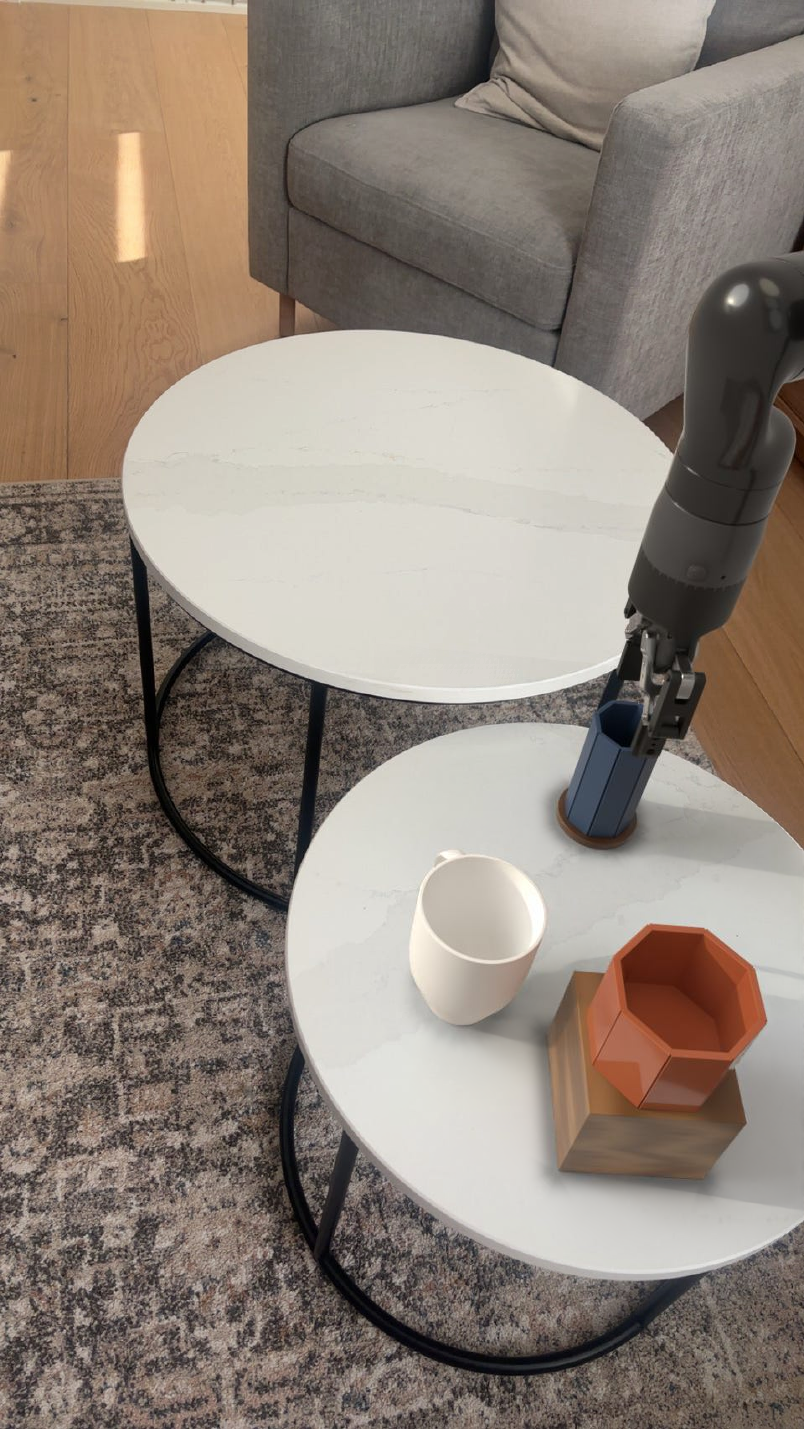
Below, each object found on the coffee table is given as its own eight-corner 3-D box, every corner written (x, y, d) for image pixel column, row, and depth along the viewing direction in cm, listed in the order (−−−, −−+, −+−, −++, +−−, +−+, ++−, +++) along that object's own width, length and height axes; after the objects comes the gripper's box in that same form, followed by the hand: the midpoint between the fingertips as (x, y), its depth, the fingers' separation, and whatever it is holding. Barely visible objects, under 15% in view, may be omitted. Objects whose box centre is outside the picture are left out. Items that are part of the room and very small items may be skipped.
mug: (531, 1037, 80) (567, 950, 71) (417, 1061, 78) (440, 973, 69) (482, 905, 88) (509, 812, 79) (376, 924, 85) (392, 829, 77)
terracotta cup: (711, 986, 74) (746, 930, 69) (737, 1115, 68) (778, 1063, 63) (581, 977, 74) (607, 919, 69) (596, 1106, 67) (625, 1053, 62)
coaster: (629, 790, 98) (631, 784, 98) (640, 853, 93) (642, 847, 93) (552, 783, 98) (554, 778, 97) (559, 846, 93) (561, 840, 92)
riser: (678, 1043, 81) (717, 980, 75) (702, 1179, 74) (747, 1123, 68) (546, 1033, 80) (573, 970, 74) (557, 1170, 73) (589, 1113, 67)
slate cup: (624, 789, 97) (659, 703, 89) (632, 840, 93) (669, 754, 85) (562, 784, 97) (591, 697, 89) (568, 834, 93) (599, 748, 85)
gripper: (774, 622, 70) (698, 787, 81) (730, 495, 80) (668, 657, 91) (659, 611, 69) (599, 779, 81) (629, 485, 79) (580, 650, 91)
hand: (636, 714), depth 86 cm, fingers open, 8 cm apart
